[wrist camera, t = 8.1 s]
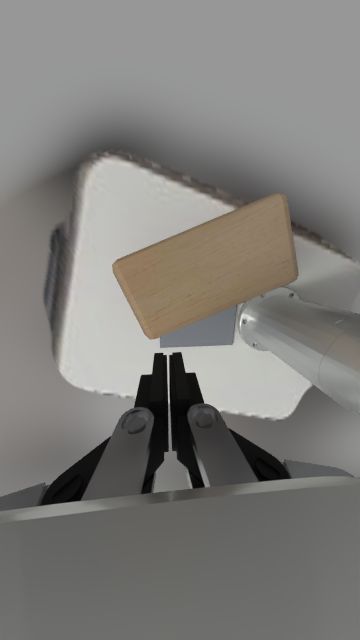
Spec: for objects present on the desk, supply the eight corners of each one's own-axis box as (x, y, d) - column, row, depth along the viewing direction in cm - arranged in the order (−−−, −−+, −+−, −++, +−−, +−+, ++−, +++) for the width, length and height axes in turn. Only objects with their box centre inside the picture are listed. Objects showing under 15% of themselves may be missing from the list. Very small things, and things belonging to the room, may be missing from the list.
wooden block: (151, 320, 29) (257, 276, 29) (148, 345, 20) (303, 280, 20) (125, 264, 26) (243, 215, 26) (105, 262, 17) (290, 185, 17)
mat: (241, 258, 28) (242, 257, 28) (231, 343, 33) (232, 344, 33) (158, 256, 27) (157, 256, 26) (160, 346, 32) (160, 347, 31)
